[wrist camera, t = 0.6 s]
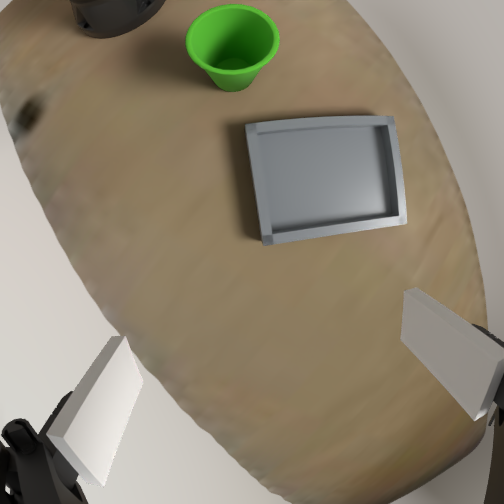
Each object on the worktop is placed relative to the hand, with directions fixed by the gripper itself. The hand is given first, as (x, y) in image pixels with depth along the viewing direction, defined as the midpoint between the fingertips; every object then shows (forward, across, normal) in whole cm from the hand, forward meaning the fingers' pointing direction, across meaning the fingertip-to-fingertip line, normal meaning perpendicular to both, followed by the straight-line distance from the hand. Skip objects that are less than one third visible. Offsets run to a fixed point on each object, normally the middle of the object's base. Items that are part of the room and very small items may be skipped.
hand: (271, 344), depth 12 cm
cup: (+26, +1, +22) cm, 34 cm away
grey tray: (+26, +11, +6) cm, 29 cm away
